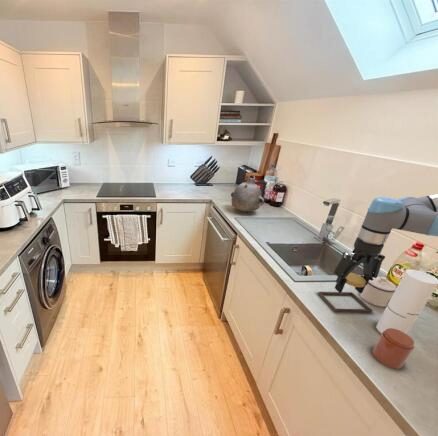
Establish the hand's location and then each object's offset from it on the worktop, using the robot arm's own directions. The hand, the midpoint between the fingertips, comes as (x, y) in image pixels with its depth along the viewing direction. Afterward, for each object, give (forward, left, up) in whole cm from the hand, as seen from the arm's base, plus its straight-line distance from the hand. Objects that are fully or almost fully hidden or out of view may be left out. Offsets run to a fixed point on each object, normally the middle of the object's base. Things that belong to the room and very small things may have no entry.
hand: (348, 290), depth 93 cm
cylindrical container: (-6, +14, -7) cm, 17 cm away
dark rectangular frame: (0, 0, -7) cm, 7 cm away
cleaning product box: (-9, -123, -7) cm, 123 cm away
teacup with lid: (-15, -4, -7) cm, 17 cm away
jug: (+4, -102, -7) cm, 102 cm away
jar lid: (0, 0, +6) cm, 6 cm away
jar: (+4, +24, -7) cm, 25 cm away
